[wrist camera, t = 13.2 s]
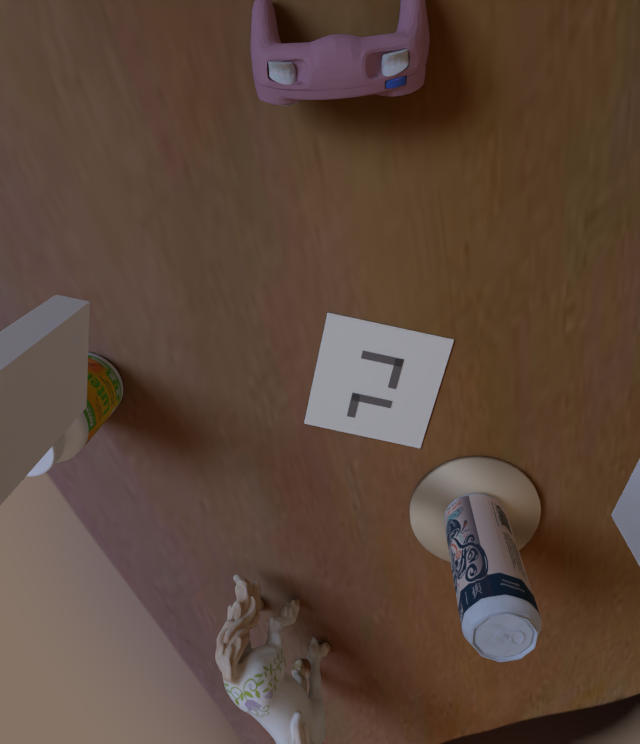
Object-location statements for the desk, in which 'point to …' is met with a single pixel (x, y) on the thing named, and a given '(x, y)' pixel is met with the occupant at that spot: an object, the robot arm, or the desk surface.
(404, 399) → the tile
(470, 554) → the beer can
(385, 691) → the desk surface
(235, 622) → the unicorn figurine
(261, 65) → the video game controller
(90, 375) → the supplement bottle
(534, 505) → the cork coaster
